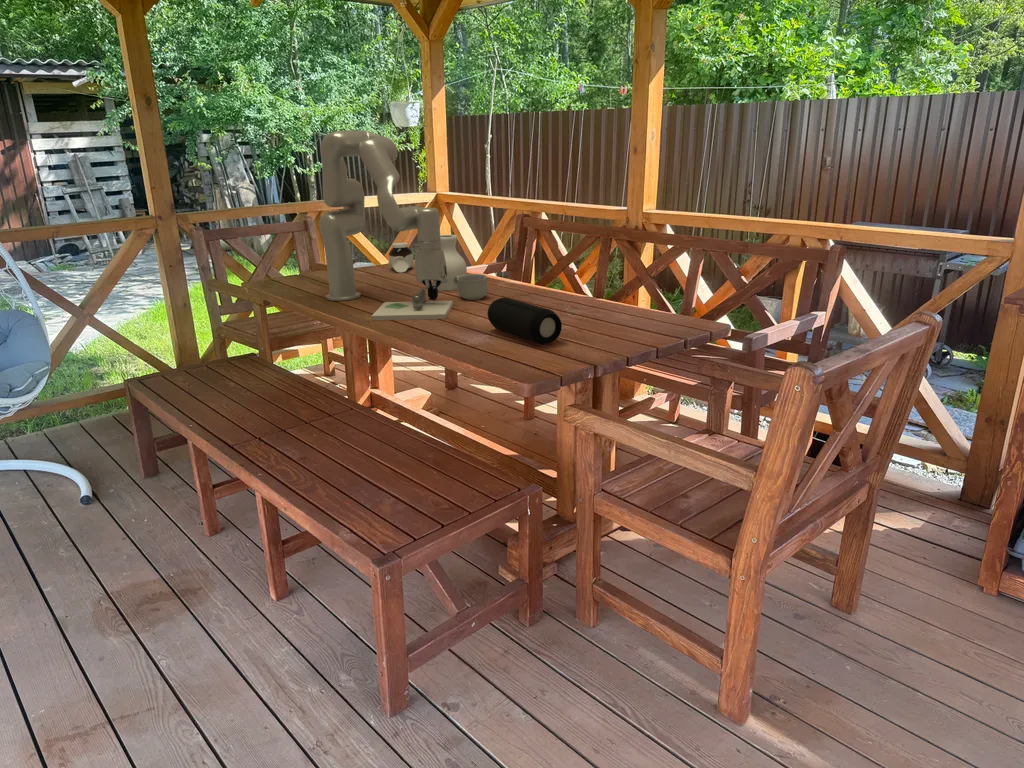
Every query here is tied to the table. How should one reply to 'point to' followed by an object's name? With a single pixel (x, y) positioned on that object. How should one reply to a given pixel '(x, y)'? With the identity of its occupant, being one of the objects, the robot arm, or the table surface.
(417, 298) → the grey rectangular bar
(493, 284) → the table surface
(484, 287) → the teacup
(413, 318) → the dial board
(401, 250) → the spread jar
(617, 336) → the table surface
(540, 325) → the portable speaker
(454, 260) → the vase
